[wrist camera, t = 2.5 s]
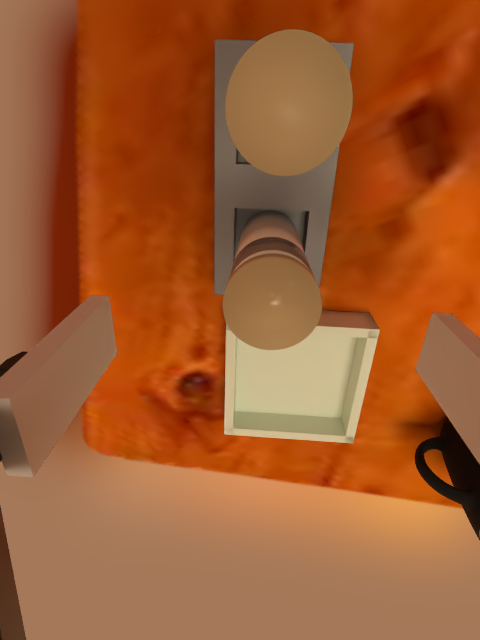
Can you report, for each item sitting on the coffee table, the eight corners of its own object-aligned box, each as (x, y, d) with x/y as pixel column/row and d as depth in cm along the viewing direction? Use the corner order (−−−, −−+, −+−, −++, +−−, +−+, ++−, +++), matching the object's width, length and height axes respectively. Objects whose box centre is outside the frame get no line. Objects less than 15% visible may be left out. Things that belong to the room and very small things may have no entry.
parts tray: (229, 305, 31) (226, 320, 29) (369, 312, 31) (379, 329, 28) (227, 412, 37) (224, 434, 34) (346, 420, 36) (353, 443, 34)
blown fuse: (240, 207, 27) (223, 257, 16) (302, 210, 27) (328, 262, 16) (238, 266, 29) (222, 347, 18) (295, 269, 29) (315, 353, 18)
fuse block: (219, 48, 23) (174, -42, 12) (345, 52, 23) (429, -37, 11) (218, 282, 30) (189, 373, 19) (313, 287, 30) (344, 383, 18)
